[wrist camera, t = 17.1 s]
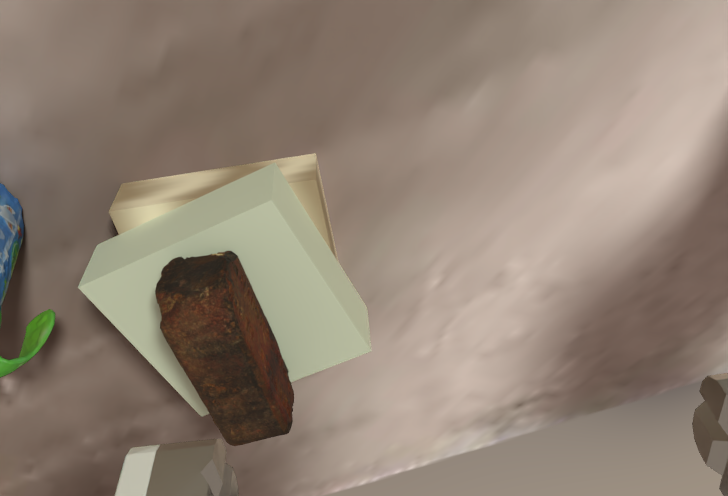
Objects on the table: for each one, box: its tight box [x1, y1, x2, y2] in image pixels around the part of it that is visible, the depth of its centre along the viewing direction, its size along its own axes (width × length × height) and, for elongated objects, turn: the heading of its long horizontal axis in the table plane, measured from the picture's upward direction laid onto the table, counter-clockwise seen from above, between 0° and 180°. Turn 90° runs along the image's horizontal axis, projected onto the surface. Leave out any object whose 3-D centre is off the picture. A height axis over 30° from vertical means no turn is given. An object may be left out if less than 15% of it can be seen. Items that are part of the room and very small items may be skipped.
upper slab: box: [78, 163, 371, 417], centre depth 40 cm, size 12×12×4 cm
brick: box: [155, 251, 294, 446], centre depth 37 cm, size 11×4×5 cm, turn 15°
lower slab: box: [109, 153, 339, 263], centre depth 44 cm, size 12×12×4 cm
